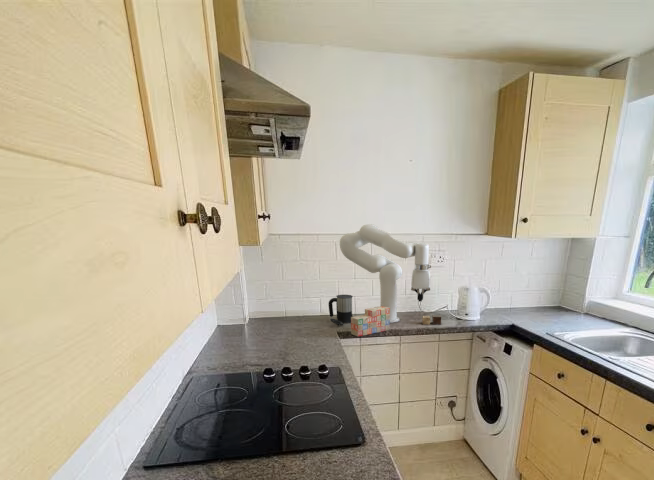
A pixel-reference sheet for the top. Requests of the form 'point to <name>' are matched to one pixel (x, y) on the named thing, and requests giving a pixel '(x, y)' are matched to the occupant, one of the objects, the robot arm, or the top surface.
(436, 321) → the walnut block
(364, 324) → the stack of blocks
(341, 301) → the milk frother
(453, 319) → the top surface
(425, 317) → the birch block
